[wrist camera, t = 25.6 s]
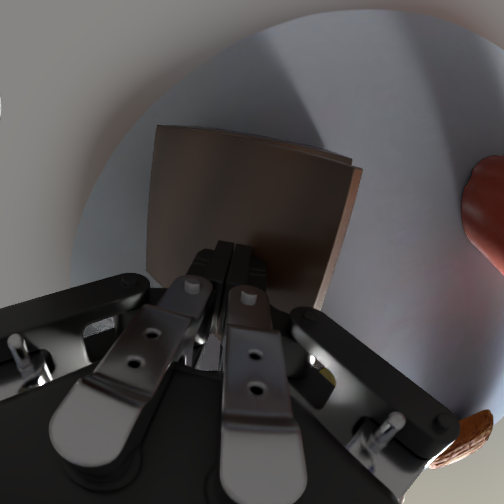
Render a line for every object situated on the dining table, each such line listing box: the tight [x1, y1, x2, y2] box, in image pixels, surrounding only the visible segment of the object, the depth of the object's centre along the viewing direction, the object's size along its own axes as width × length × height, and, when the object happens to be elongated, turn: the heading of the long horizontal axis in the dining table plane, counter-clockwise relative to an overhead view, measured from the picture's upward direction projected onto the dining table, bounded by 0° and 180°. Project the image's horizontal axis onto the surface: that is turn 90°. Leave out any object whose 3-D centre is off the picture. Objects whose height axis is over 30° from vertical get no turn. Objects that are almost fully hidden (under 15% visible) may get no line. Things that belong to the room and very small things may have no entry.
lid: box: [146, 125, 363, 341], centre depth 15 cm, size 13×11×1 cm
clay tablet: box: [428, 410, 493, 469], centre depth 42 cm, size 22×17×8 cm
